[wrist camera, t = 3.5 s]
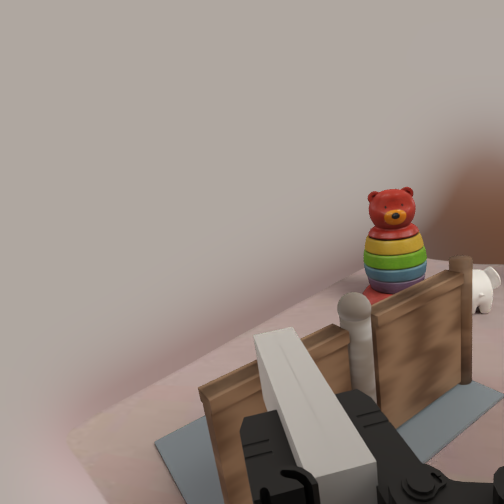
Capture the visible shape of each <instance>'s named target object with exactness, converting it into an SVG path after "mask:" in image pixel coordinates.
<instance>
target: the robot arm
mask: <svg viewBox="0 0 504 504" xmlns="http://www.w3.org/2000/svg"><path fill="white" fill-rule="evenodd" d="M253 337H254V344H255V350H256V356H257V362H258V369H259V375H260V381H261V387H262V394H263V399H264V402H265V405H266V408H267V411H268V412H264V413H260V414H256V415H252V416H248V417H244V418H243V421H242V425H241V428H240V431H239V433H240V438H241V443H242V449H243V454H244V460H245V465H246V470H247V476H248V481H249V486H250V491H251V496H252V501H253V504H504V466H503V467H500V468H499V469H498V470H497V471H496V472H495V474H494V482H493V483H475V482H460V481H453V480H450V479H448V478H447V477H446V476H445V475H444V474H443V473H442V472H441V471H439V470H438V469H436V468H434V467H432V466H430V465H428V464H423V463H422V462H421V461H420V460H419V459H418V457H417V456H416V455H415V454H414V452H413V451H412V450H411V448H410V447H409V446H408V444H407V443H406V442H405V441H404V439H403V438H402V437H401V435H400V434H399V433H398V431H397V430H396V429H395V427H394V426H393V425H392V424H391V422H389V420H388V418H387V417H386V416H385V414H384V413H383V412H381V409H380V408H379V407H378V405H377V404H376V403H375V401H374V400H373V399H372V398H371V397H370V396H368V395H366V394H365V393H363V392H362V391H360V390H358V389H354V390H350V391H346V392H342V393H338V394H334V393H333V391H332V389H331V388H330V386H329V385H328V383H327V381H326V380H325V378H324V377H323V375H322V373H321V372H320V370H319V369H318V367H317V365H316V364H315V362H314V361H313V359H312V357H311V356H310V354H309V353H308V351H307V349H306V348H305V346H304V345H303V343H302V341H301V340H300V338H299V337H298V335H297V333H296V332H295V330H294V329H293V327H289V328H284V329H279V330H275V331H270V332H265V333H261V334H256V335H253Z"/></svg>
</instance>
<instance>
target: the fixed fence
mask: <svg viewBox="0 0 504 504" xmlns="http://www.w3.org/2000/svg"><path fill="white" fill-rule="evenodd" d="M472 275H473V259H472V258H471V257H469V256H453V257H450V258H449V270H444V271H442V272H440V273H438V274H436V275H433V276H431V277H429V278H427V279H425V280H423V281H421V282H419V283H417V284H415V285H412V286H410V287H408V288H406V289H404V290H402V291H400V292H398V293H396V294H394V295H391V296H389V297H387V298H385V299H383V300H381V301H379V302H377V303H375V304H373V305H371V304H370V302H369V300H368V299H367V297H365V296H364V295H363V294H361V293H358V292H350V293H347V294H345V295H344V296H342V297H341V299H340V300H339V302H338V306H337V310H338V314H339V318H340V327H341V328H343V329H345V330H348V331H349V337H350V343H349V344H347V345H348V356H349V367H350V378H351V389H352V390H354V389H358V390H360V391H362V392H363V393H365V394H366V395H368V396H370V397H371V398H372V399H373V400H374V401H375V403H376V404H377V405H378V407H379V408H380V409H381V412H383V413H384V414H385V416H386V417H387V418H388V420H389V422H391V424H392V425H393V426H394V427H395V429H396V428H398V427H399V426H401V425H402V424H403V423H405V422H406V421H407V420H409V419H410V418H412V417H413V416H414V415H416V414H417V413H418V412H420V411H421V410H423V409H424V408H425V407H427V406H428V405H429V404H431V403H432V402H434V401H435V400H436V399H438V398H439V397H440V396H442V395H443V394H445V393H446V392H447V391H449V390H450V389H451V388H453V387H454V386H456V385H457V384H459V385H468V384H470V383H471V382H472Z"/></svg>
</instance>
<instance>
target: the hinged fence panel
mask: <svg viewBox="0 0 504 504" xmlns="http://www.w3.org/2000/svg"><path fill="white" fill-rule="evenodd" d="M300 340H301V341H302V343H303V345H304V346H305V348H306V349H307V351H308V353H309V354H310V356H311V357H312V359H313V361H314V362H315V364H316V365H317V367H318V369H319V370H320V372H321V373H322V375H323V377H324V378H325V380H326V381H327V383H328V385H329V386H330V388H331V389H332V391H333V393H334V394H338V393H342V392H346V391H350V390H352V389H351V378H350V367H349V356H348V345H347V344H349V343H350V337H349V331H348V330H345V329H343V328H341V327H339V326H337V325H334V324H331V325H328V326H326V327H324V328H322V329H320V330H318V331H316V332H314V333H312V334H310V335H307V336H305V337H303V338H301V339H300ZM198 390H199V395H200V399H201V401H202V403H203V407H204V411H205V416H206V421H207V425H208V430H209V434H210V439H211V444H212V448H213V453H214V457H215V462H216V467H217V471H218V476H219V481H220V485H221V490H222V494H223V499H224V504H253V501H252V496H251V491H250V486H249V481H248V476H247V470H246V465H245V460H244V454H243V449H242V443H241V438H240V433H239V431H240V428H241V425H242V421H243V418H244V417H248V416H252V415H256V414H260V413H264V412H268V411H267V408H266V405H265V402H264V399H263V394H262V387H261V381H260V375H259V369H258V362H257V360H255V361H253V362H251V363H249V364H247V365H244V366H242V367H240V368H238V369H236V370H234V371H232V372H230V373H228V374H226V375H223V376H221V377H219V378H217V379H215V380H213V381H211V382H209V383H207V384H205V385H202V386H200V387H198Z"/></svg>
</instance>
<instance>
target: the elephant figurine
mask: <svg viewBox="0 0 504 504" xmlns="http://www.w3.org/2000/svg"><path fill="white" fill-rule="evenodd" d="M500 284H501V279H500V276H499V275H498V273H497V272H496V271H495V270H494V269H493V268H492V267H487V268H486V269H485V270H483V271H482V270H477V269H475V270H473V275H472V314H474V313H475V311H476V308H477V307H479V309H480V312H481V313H484V314H486V313H489V312H490V309H491V305H492V301H493V289H495V288H497V287H499V286H500Z"/></svg>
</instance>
